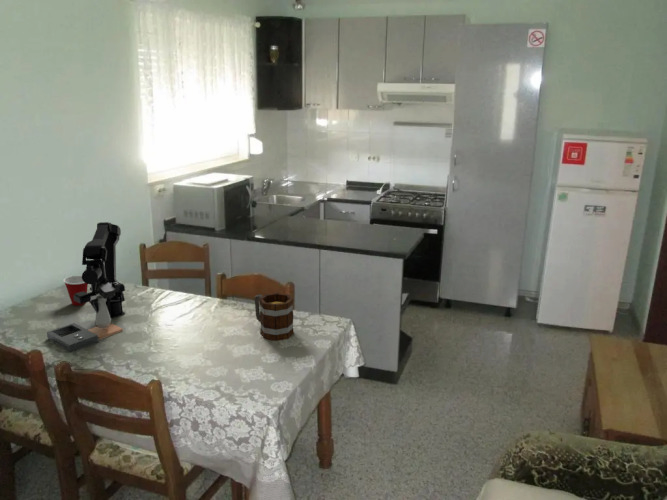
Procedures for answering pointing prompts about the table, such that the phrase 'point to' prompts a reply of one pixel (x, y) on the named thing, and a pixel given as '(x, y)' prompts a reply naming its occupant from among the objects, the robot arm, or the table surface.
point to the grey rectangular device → (72, 337)
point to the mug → (275, 315)
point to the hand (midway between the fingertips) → (102, 312)
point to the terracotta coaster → (106, 331)
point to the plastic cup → (75, 287)
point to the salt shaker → (102, 313)
